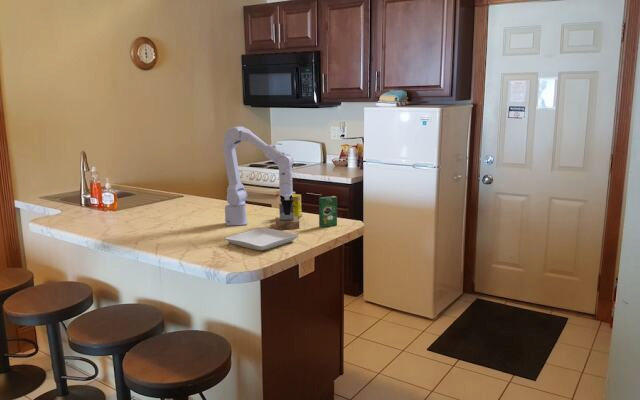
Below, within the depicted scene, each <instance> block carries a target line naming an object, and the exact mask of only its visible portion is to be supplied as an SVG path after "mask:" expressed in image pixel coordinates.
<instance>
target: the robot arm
mask: <svg viewBox="0 0 640 400" xmlns="http://www.w3.org/2000/svg"><path fill="white" fill-rule="evenodd" d="M241 142H248V143H250V144H252V145H253V146H255V147H256V148H258V149H259V150H261V151H262V152H263V156H265V157H266V158H268V159H269V160H270V161H272V163H275V165H276V166H277V168H278V179H279V180H278V183H279V193H278V194H279V198H280V203H282V205H283V209H284V214H285V215H290V211H291V205H292V202H293V199H291V198H292V195H293V194H296V191H294V190H293V169H292V168H293V165H294V158H293V156H291V154H287V153H286V152H285V151H282V150H280V149H279V148H277V147H278V146H277V145H276V144H268V143H266V142H265V141H263V139H261V138H260V137H258V136H257V135H256V134H255V133H253V132H252V131H251V130H250V129H249V128H246V127H245V126H243V125H239V126H231V127H229V128H228V129H227V130H226V131H225V132H224V137H223V142H222V152H223V157H224V163H225V169H226V175H227V181H228V186H227V189H226V193H227V194H226V199H225V200H226V201H227V203H228V204H225V205H224V214H225V216H224V217H225V218H224V221H225V226H227V227H228V226H230V227H231V226H247V225H248V221H249V220H248V219H247V206H246V200H247V199H248V192H247V191H246V188H245V186H244V184H243V182H242V180H241V175H240V174H241V173H240V169H239V163H238V157H237V151H236V148H237V147H238V145H239V144H240V143H241Z"/></svg>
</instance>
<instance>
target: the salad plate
mask: <svg viewBox="0 0 640 400" xmlns="http://www.w3.org/2000/svg"><path fill="white" fill-rule="evenodd" d="M298 237H299V234H296V233H293V232H288V231H283V230H280V229H274V228H268V227H259V228H256V229H252V230H248V231H244V232H240V233H237V234H233V235H231V236H230V235H229V236H227V237H225V241H227V242H229V243H230V244H233V245H236V246H239V247H242V248H247V249H250V250H251V249H252V250H254V251H255V250H256V251H268V250H270V249H274V248H276V247H279V246H282V245H285V244H288V243H290V242H293V241H295V240H296V239H297V238H298Z"/></svg>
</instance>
